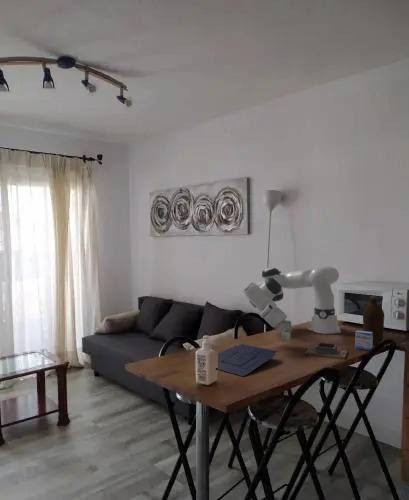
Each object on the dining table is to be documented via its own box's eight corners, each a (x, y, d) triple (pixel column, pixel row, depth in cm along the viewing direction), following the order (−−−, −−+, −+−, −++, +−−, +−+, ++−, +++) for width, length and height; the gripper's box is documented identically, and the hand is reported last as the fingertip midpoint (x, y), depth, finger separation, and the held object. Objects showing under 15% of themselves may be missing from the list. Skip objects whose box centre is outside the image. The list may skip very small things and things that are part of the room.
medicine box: (355, 348, 202) (355, 331, 202) (356, 346, 206) (356, 330, 206) (371, 350, 198) (371, 333, 198) (372, 348, 202) (372, 331, 202)
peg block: (283, 339, 206) (283, 320, 206) (291, 340, 204) (291, 320, 204) (281, 341, 202) (281, 321, 202) (289, 341, 201) (289, 322, 201)
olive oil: (378, 346, 205) (378, 298, 205) (358, 342, 214) (358, 296, 213) (388, 343, 212) (388, 296, 212) (369, 339, 220) (369, 294, 220)
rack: (309, 348, 203) (309, 340, 202) (347, 352, 195) (347, 344, 195) (305, 354, 192) (305, 346, 192) (344, 359, 184) (344, 350, 184)
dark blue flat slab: (282, 357, 183) (281, 350, 183) (244, 383, 161) (243, 374, 160) (239, 348, 199) (238, 341, 199) (199, 370, 177) (198, 362, 176)
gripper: (270, 309, 217) (287, 329, 213) (258, 316, 199) (278, 337, 195) (278, 302, 215) (296, 321, 211) (267, 307, 197) (287, 329, 193)
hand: (287, 329), depth 203 cm, fingers closed on peg block, 4 cm apart
